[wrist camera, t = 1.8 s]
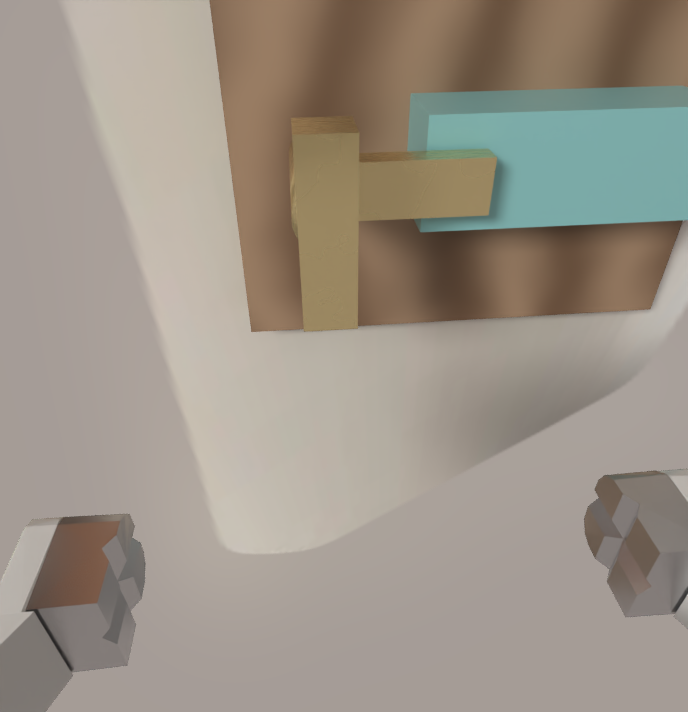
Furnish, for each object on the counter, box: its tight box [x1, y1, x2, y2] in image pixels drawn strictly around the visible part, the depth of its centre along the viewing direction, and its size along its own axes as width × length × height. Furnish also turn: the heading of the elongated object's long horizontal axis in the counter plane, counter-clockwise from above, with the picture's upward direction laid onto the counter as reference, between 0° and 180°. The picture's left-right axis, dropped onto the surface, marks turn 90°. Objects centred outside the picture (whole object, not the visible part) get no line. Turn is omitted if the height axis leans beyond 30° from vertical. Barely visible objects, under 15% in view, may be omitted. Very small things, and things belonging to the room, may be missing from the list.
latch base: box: [210, 0, 688, 332], centre depth 28 cm, size 24×20×2 cm
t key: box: [289, 116, 497, 332], centre depth 23 cm, size 8×7×10 cm
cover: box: [407, 86, 688, 232], centre depth 26 cm, size 13×5×4 cm, turn 90°
